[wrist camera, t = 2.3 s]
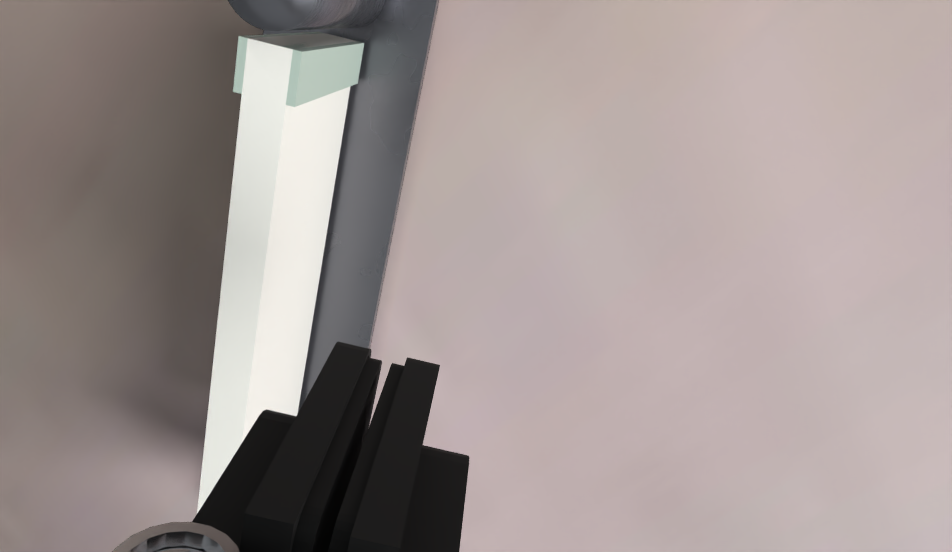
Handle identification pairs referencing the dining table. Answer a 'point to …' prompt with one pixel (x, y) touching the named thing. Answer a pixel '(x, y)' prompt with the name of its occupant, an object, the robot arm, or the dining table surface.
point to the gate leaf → (275, 228)
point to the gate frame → (360, 152)
